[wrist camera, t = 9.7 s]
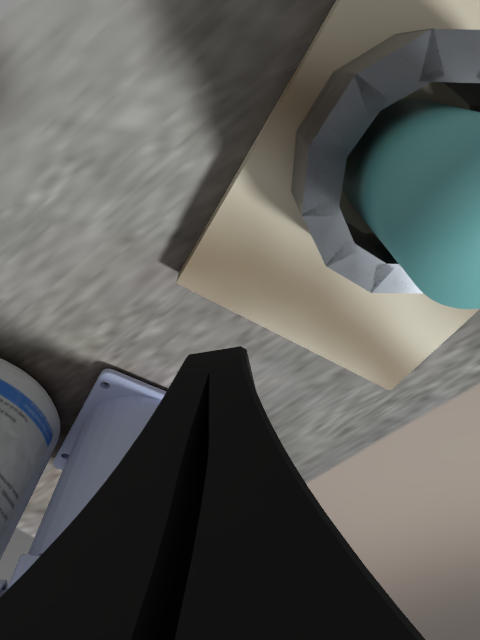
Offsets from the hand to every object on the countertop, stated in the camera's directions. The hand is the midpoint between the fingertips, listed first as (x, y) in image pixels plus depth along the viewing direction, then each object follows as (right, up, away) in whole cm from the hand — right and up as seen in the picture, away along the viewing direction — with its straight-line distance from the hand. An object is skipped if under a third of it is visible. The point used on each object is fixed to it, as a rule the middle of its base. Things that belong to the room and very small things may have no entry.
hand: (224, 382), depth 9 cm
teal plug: (+6, +8, +6) cm, 11 cm away
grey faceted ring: (+6, +8, +6) cm, 11 cm away
